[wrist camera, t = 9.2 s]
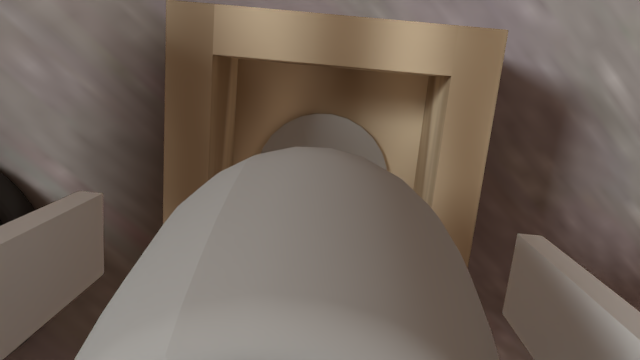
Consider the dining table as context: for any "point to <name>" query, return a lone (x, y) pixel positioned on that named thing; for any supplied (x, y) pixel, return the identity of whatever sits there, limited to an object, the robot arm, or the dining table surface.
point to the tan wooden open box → (332, 96)
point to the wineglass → (299, 265)
